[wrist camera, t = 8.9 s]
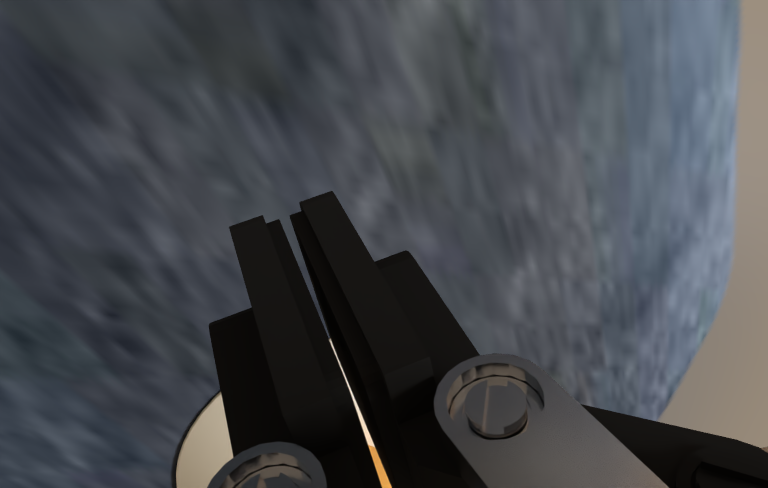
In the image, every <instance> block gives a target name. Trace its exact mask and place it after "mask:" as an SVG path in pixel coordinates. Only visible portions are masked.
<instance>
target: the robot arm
mask: <svg viewBox="0 0 768 488" xmlns="http://www.w3.org/2000/svg"><path fill="white" fill-rule="evenodd" d="M299 203H300V208H301V212H298V213H295V214H292V215H290V219H291V222H292V225H293V228H294V231H295V234H296V237H297V240H298V243H299V246H300V249H301V252H302V255H303V258H304V261H305V264H306V267H307V270H308V273H309V276H310V279H311V282H312V285H313V288H314V291H315V294H316V297H317V300H318V303H319V306H320V309H321V312H322V315H323V318H324V321H325V324H326V327H327V330H328V333H329V336H330V338H331V341H332V344H333V347H334V349H335V352H336V355H337V357H338V359H339V362H340V364H341V367H342V369H343V371H344V374H345V376H346V379H347V381H348V383H349V386H350V388H351V391H352V393H353V395H354V398H355V400H356V403H357V405H358V407H359V410H360V412H361V415H362V417H363V419H364V422H365V424H366V427H367V429H368V432H369V434H370V436H371V439H372V441H373V444H374V446H375V448H376V451H377V453H378V456H379V458H380V460H381V463H382V465H383V468H384V470H385V472H386V475H387V477H388V480H389V482H390V484H391V487H392V488H768V447H763V448H759V447H756V446H753V445H750V444H747V443H744V442H741V441H738V440H735V439H731V438H726V437H722V436H718V435H713V434H708V433H704V432H700V431H696V430H691V429H687V428H682V427H678V426H674V425H669V424H665V423H660V422H656V421H652V420H647V419H643V418H639V417H634V416H630V415H625V414H621V413H617V412H612V411H608V410H604V409H599V408H595V407H590V406H586V405H582V404H579V403H578V402H577V401H576V400H575V399H574V398H573V397H572V396H571V395H570V394H569V393H568V392H567V391H566V390H565V389H564V388H562V387H561V386H560V385H559V384H558V383H557V382H556V381H555V380H554V379H553V378H552V377H551V376H550V375H549V374H548V373H546V372H545V371H544V370H543V369H541V368H540V367H539V366H537V365H536V364H534V363H533V362H531V361H530V360H527V359H524V358H521V357H518V356H515V355H509V354H498V353H494V354H487V355H479V353H478V352H477V350H476V349H475V347H474V346H473V344H472V343H471V341H470V340H469V338H468V337H467V336H466V334H465V333H464V331H463V330H462V328H461V327H460V325H459V324H458V322H457V321H456V319H455V318H454V316H453V315H452V313H451V312H450V311H449V309H448V308H447V306H446V305H445V303H444V302H443V300H442V299H441V297H440V296H439V294H438V293H437V291H436V290H435V288H434V287H433V285H432V284H431V283H430V281H429V280H428V278H427V277H426V275H425V274H424V272H423V271H422V269H421V268H420V266H419V265H418V263H417V262H416V260H415V259H414V258H413V256H412V255H411V254H410V253H409V252H408V251H406V250H405V251H403V252H400V253H397V254H395V255H392V256H389V257H386V258H384V259H381V260H378V261H376V262H374V260H373V259H372V257H371V255H370V254H369V252H368V250H367V249H366V247H365V245H364V243H363V242H362V240H361V238H360V237H359V235H358V233H357V231H356V230H355V228H354V226H353V225H352V223H351V221H350V220H349V218H348V216H347V214H346V213H345V211H344V209H343V208H342V206H341V204H340V202H339V201H338V199H337V197H336V196H335V194H334V193H333V191H330V192H327V193H324V194H321V195H319V196H316V197H313V198H310V199H307V200H304V201H301V202H299ZM229 228H230V232H231V236H232V239H233V243H234V246H235V250H236V253H237V257H238V260H239V264H240V267H241V271H242V274H243V278H244V281H245V285H246V288H247V292H248V295H249V299H250V302H251V306H252V308H249V309H247V310H244V311H241V312H239V313H236V314H233V315H231V316H228V317H225V318H223V319H220V320H217V321H214V322H212V323H210V324H209V331H210V337H211V343H212V348H213V353H214V358H215V364H216V369H217V374H218V379H219V384H220V390H221V395H222V400H223V405H224V411H225V416H226V421H227V426H228V432H229V437H230V442H231V447H232V453H233V458H232V459H231V460H230V461H228V462H227V463H225V464H224V466H223V467H222V468H221V469H220V470H219V471H218V472H217V473H216V475H215V476H214V477H213V478H212V479H211V481H210V483H209V485H208V487H207V488H382V485H381V482H380V479H379V476H378V473H377V470H376V467H375V464H374V461H373V458H372V455H371V452H370V449H369V446H368V443H367V440H366V437H365V434H364V431H363V428H362V425H361V422H360V419H359V416H358V413H357V410H356V407H355V404H354V401H353V399H352V396H351V393H350V390H349V388H348V385H347V382H346V380H345V377H344V375H343V372H342V370H341V367H340V365H339V362H338V360H337V358H336V355H335V353H334V350H333V348H332V346H331V343H330V341H329V338H328V336H327V333H326V331H325V329H324V326H323V324H322V321H321V319H320V317H319V314H318V312H317V309H316V307H315V305H314V302H313V300H312V297H311V295H310V292H309V290H308V288H307V285H306V283H305V280H304V278H303V276H302V273H301V271H300V268H299V266H298V263H297V261H296V259H295V256H294V254H293V251H292V249H291V247H290V244H289V242H288V239H287V237H286V234H285V232H284V230H283V227H282V225H281V222H280V220H279V219H278V220H275V221H272V222H269V223H267V224H266V223H265V220H264V217H263V215H261V216H259V217H256V218H253V219H250V220H247V221H244V222H241V223H239V224H236V225H233V226H230V227H229Z"/></svg>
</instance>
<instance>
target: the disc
mask: <svg viewBox="0 0 768 488" xmlns="http://www.w3.org/2000/svg"><path fill="white" fill-rule="evenodd" d="M329 341H330V343H331V346H332V348H333V350H334V353H335V355H336V352H335V349H334V347H333V344H332V341H331V338H329ZM336 358H337V360H338V362H339V359H338V357H337V355H336ZM339 365H340V367H341V364H340V362H339ZM341 370H342V372H343V375H344V377H345V380H346V382H347V385H348V388H349V390H350V393H351V396H352V399H353V401H354V404H355V407H356V410H357V413H358V416H359V419H360V422H361V425H362V428H363V431H364V434H365V437H366V440H367V443H368V445H370V446H373V447H375V446H374V444H373V441H372V439H371V436H370V434H369V432H368V429H367V427H366V424H365V422H364V419H363V417H362V415H361V412H360V410H359V407H358V405H357V403H356V400H355V398H354V395H353V393H352V391H351V388H350V386H349V383H348V381H347V379H346V376H345V374H344V371H343V369H342V367H341ZM232 458H233V453H232V447H231V442H230V437H229V432H228V426H227V421H226V416H225V411H224V405H223V400H222V395H221V392H220V393H218V394H217V395H216V396H215V397H214V398H213V399H212V400H211V402H210V403H209V404H208V405H207V406H206V407H205V408H204V409H203V410H202V412H201V413H200V414H199V416H198V417H197V419H196V420H195V422H194V423H193V425H192V426H191V428H190V430H189V432H188V434H187V436H186V437H185V439H184V441H183V444H182V447H181V450H180V453H179V456H178V461H177V469H176V483H177V488H207V487H208V485H209V483H210V481H211V479H212V478H213V477H214V476H215V475H216V473H217V472H218V471H219V470H220V469H221V468H222V467H223V466H224V464H225V463H227V462H228V461H230V460H231V459H232Z"/></svg>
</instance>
